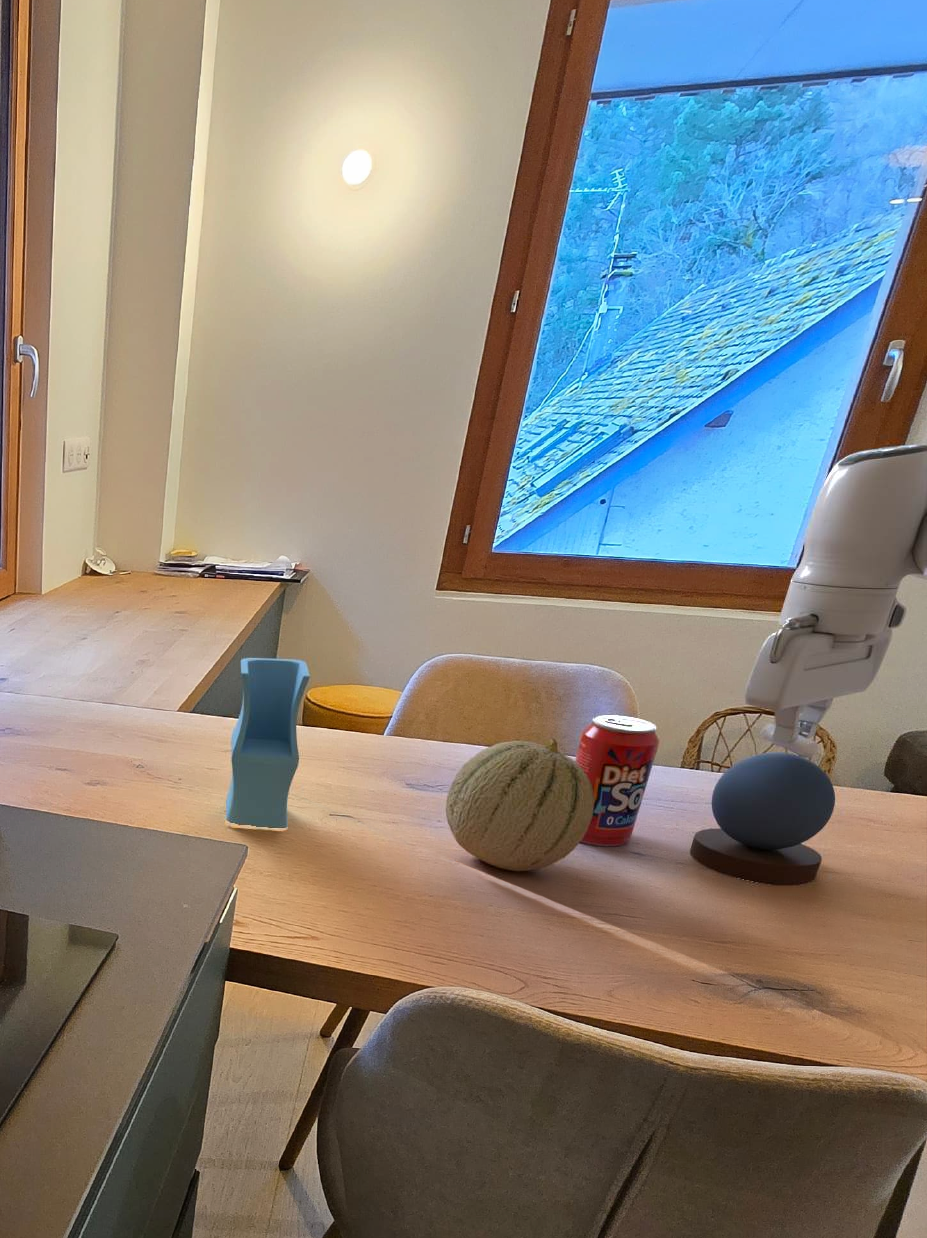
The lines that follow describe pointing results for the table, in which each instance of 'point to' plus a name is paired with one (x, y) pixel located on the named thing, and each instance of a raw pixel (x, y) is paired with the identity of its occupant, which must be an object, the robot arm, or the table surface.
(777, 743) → the small white plastic part
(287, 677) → the vase
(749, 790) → the blue egg sculpture
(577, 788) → the cantaloupe
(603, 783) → the soda can
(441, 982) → the table surface
